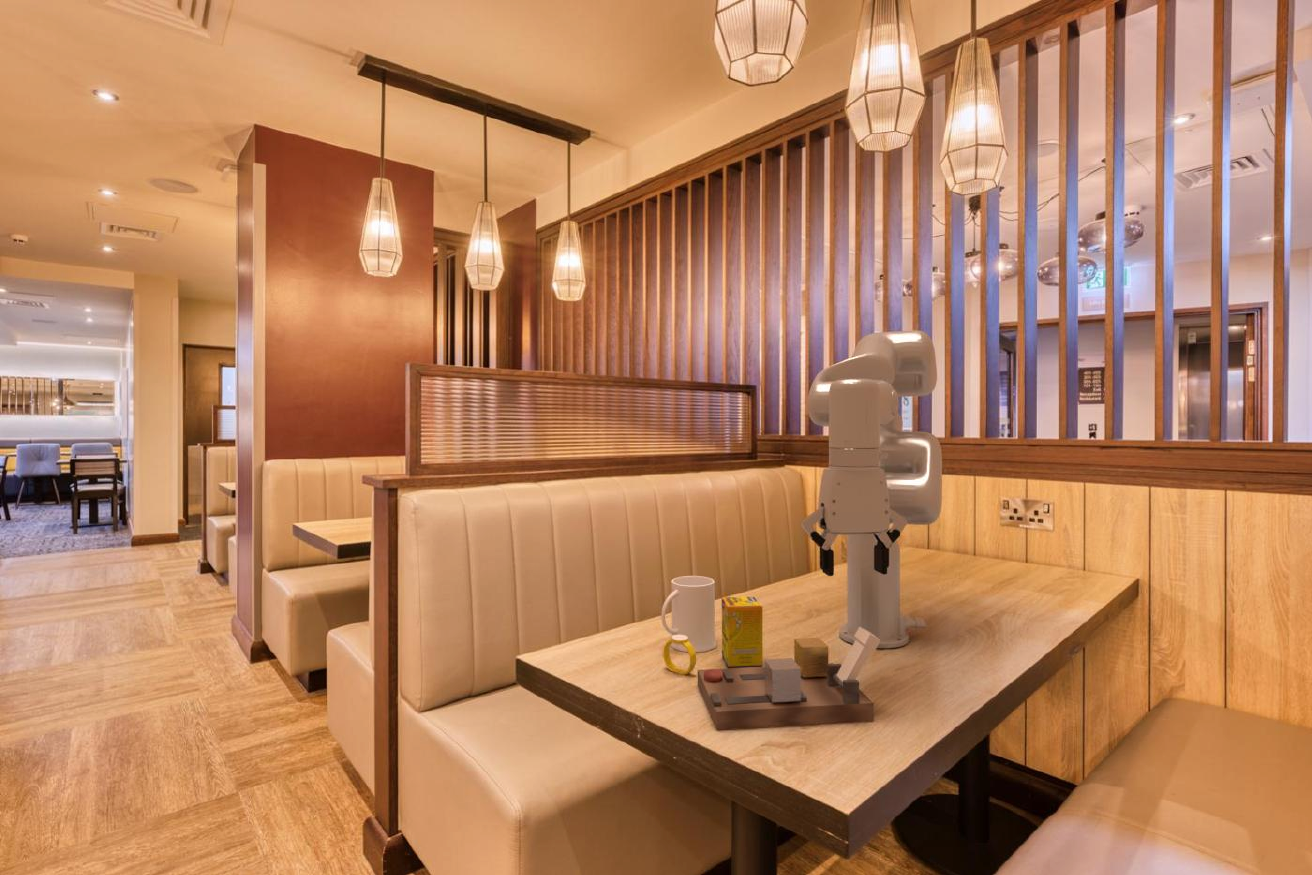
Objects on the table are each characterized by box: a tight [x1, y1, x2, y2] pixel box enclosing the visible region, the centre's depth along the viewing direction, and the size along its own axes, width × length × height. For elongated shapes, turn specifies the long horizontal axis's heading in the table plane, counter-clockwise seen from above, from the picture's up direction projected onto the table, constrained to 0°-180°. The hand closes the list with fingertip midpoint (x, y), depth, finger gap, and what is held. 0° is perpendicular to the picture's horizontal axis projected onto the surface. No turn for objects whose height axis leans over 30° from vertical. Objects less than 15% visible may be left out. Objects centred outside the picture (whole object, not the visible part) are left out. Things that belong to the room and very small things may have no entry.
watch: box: [662, 635, 697, 676], centre depth 108 cm, size 6×3×6 cm, turn 51°
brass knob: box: [793, 637, 829, 677], centre depth 100 cm, size 4×4×4 cm
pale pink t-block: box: [833, 626, 881, 689], centre depth 93 cm, size 2×4×9 cm, turn 7°
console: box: [697, 662, 875, 731], centre depth 96 cm, size 22×15×6 cm
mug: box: [660, 575, 717, 653], centre depth 120 cm, size 12×8×12 cm
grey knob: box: [763, 657, 801, 702], centre depth 92 cm, size 4×4×4 cm
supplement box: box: [721, 595, 764, 668], centre depth 111 cm, size 6×6×11 cm
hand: (854, 572), depth 101 cm, fingers open, 7 cm apart
